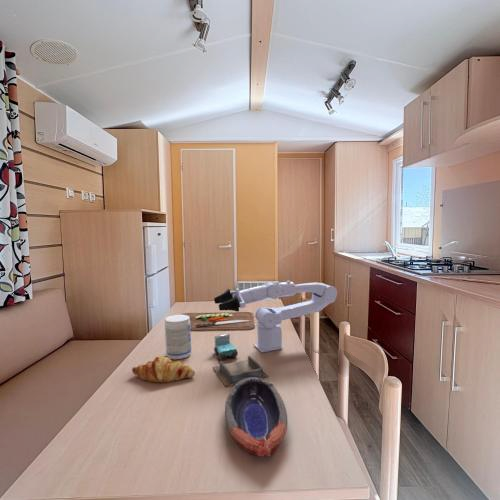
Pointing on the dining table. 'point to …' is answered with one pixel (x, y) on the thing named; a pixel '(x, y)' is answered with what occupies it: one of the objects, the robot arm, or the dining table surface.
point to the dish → (256, 416)
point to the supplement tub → (178, 336)
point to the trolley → (224, 347)
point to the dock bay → (239, 371)
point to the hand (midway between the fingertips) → (216, 304)
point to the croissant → (163, 370)
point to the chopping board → (221, 321)
